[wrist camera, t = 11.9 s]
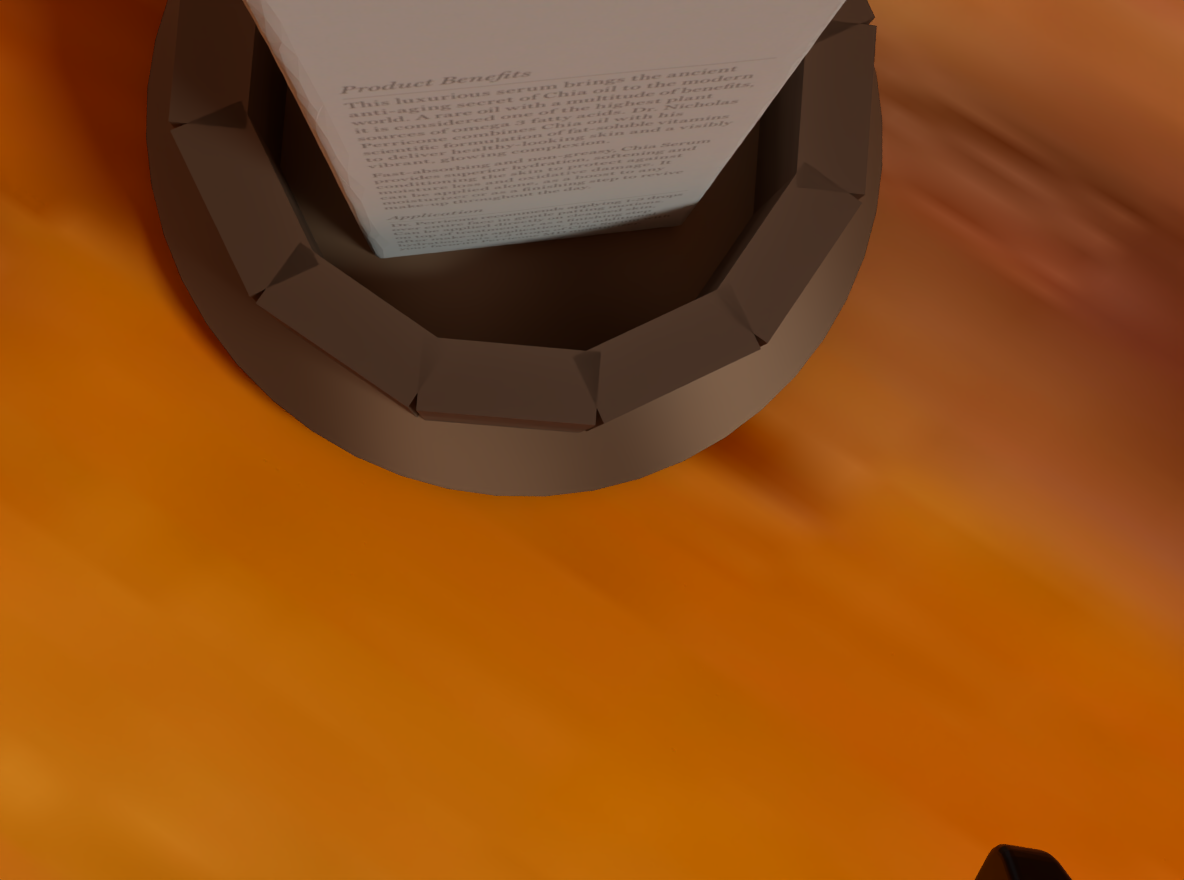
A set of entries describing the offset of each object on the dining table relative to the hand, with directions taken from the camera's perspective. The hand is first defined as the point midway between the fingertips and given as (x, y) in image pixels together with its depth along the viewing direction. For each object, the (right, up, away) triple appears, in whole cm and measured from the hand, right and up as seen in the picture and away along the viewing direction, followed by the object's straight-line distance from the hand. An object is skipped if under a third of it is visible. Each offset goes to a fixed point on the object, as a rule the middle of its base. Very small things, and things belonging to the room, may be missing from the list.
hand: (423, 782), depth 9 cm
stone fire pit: (0, +9, +13) cm, 16 cm away
